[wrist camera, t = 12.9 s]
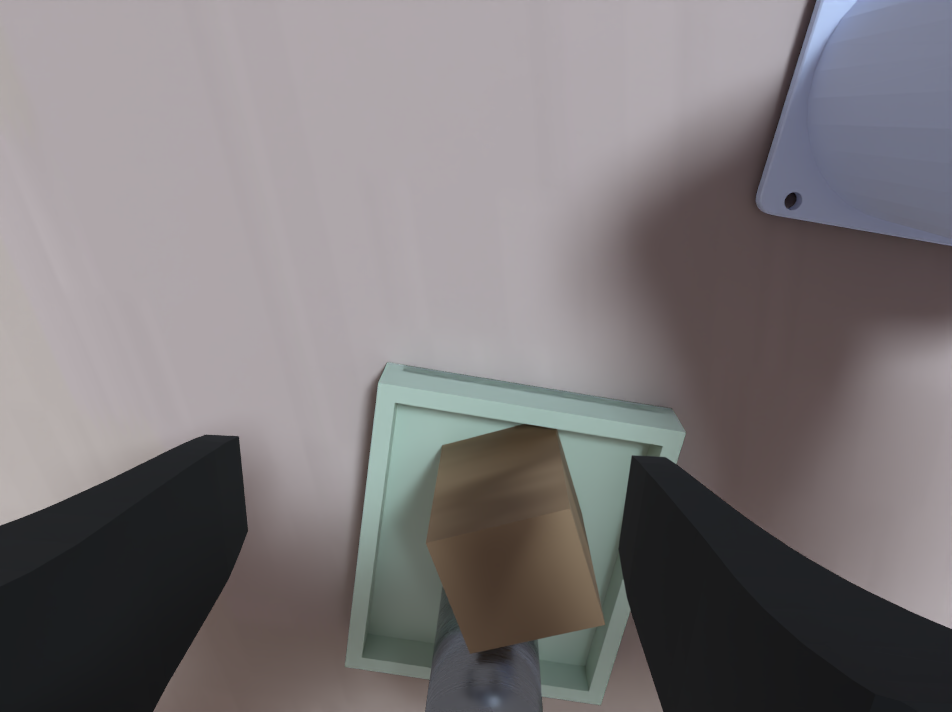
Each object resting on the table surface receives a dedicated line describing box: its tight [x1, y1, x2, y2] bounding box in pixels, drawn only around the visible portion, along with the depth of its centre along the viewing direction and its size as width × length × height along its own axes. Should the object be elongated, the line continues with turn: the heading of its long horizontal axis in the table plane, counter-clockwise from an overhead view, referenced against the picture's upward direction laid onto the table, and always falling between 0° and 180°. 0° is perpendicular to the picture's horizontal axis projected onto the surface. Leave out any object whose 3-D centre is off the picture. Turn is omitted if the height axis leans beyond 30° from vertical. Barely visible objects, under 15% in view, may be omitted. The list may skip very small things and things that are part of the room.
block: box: [426, 424, 605, 654], centre depth 20 cm, size 4×4×6 cm
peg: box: [425, 586, 543, 712], centre depth 22 cm, size 4×4×6 cm
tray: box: [345, 362, 686, 705], centre depth 24 cm, size 10×12×2 cm
